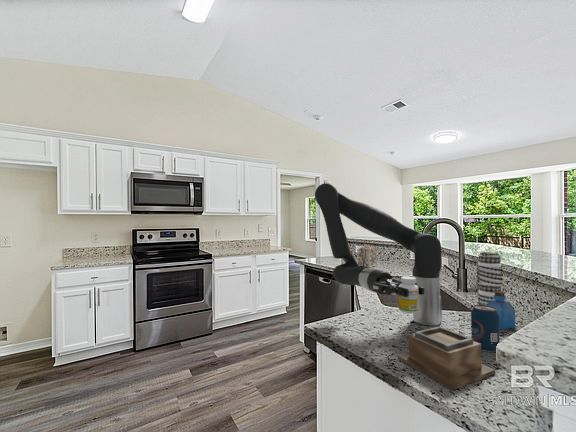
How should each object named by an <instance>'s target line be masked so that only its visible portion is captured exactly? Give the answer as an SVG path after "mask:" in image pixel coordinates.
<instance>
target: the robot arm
mask: <svg viewBox="0 0 576 432" xmlns="http://www.w3.org/2000/svg"><path fill="white" fill-rule="evenodd" d="M314 199H315V201H316V203H317V204H318V206H319V208H320V211H321V212H322V215H323V219H324V223H325V226H326V227H325V228H326V233H327V237H328V241H329V242H328V243H329V245H330V249H331V253H332V256H333V258H335V259H337V260H340V259H342V260H343V261H344V263H342V264H341V263H340V264H338V265H335V267H334V268H333V271H332V275H333V278H334V280H335V282H338V283H339V284H341V285H346V286H348V285H349V286H357V287H361V288H363V289H366V290H367V291H371V292H373V293H376V294H379V295H382V296H384V295H385V296H386V295H388V296H391V295H395V296H396V295H398V296H399V295H401V296H404V297H408V296H409V290H408V289H406V288H402V287H399V285H400V284H402V282H401V279H398V278H396V277H394V278H393V276H392V274H390V272H388V271H385V270H381V269H375V268H372V267H370V268H368V267H360V266H358V261H357V260H356V258H355V257H354V255H353V253H352V251H351V248H350V244H349V241H348V238H347V237H348V236H347V234H346V230H345V229H344V228H345V227H344V224H343V222H342V218H341V215H343V216H344V217H345V218H347V219H348V220H350V221H351V222H353V223H355V224H356V225H358V226H360V227H361V228H363V229H365V230H366V231H369V232H371V233H373V234H375V235H378V237H379V236H380V237H382V238H385V239H387V240H390V241H393V242H395V243H397V244H399V245H400V246H402V247H404V248H406V249H407V250H409V251H410V252H412V253H413V254H414V263H413V267H412V271H411V272H412V277H414V278H416V283H415V285H416V286H417V287H418V302H419V311H418V312H417V313H412V320H413V322H415V323H417V324H419V325H424V326H430V327H431V326H433V327H436V326H439V325H441V323H442V322H443V315H442V314H443V311H442V310H443V309H442V307H443V306H442V303H443V301H442V296H441V292H440V291H441V289H440V288H441V287H440V285H441V284H440V283H441V282H440V274H441V273H440V272H441V270H442V244H441V241H440V239H439V238H438V237H436V236H435V235H433V234H431V233H424V232H421V231H418V230H415V229H412V228H410V227H409V226H406V225H404V224H403V223H401V222H400V221H399V220H397V219H396V218H394V217H393V216H392V215H390V214H388V213H386V212H385V211H383V210H381V209H379V208H376V207H374V206H373V205H369V204H367V203H364V202H360V201H357V200H354V199H351V198H349V197H347V196H346V195H344V194H342V193H341V192H339V191H338V190H337V188H336V187H335V186H334V185H333V184H331V183H327V182H324V183H321V184H320V185H318V187H317V188H316V189H315V192H314Z"/></svg>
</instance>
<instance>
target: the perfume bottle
mask: <svg viewBox="0 0 576 432" xmlns="http://www.w3.org/2000/svg"><path fill="white" fill-rule="evenodd" d="M494 292H495V294H494V298H495V300H491V301H490V302H489V303H488V304H487V306H491V307H494V308H496V311H497V313H498V315H499V329H501V330H508V329H513V328H516V309H515V308H514V307H513V305H512V303H510V301H506V299H507V297H506V292H505V291H502V290H501V291H494Z"/></svg>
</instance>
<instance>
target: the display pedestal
mask: <svg viewBox="0 0 576 432" xmlns="http://www.w3.org/2000/svg"><path fill="white" fill-rule="evenodd" d="M407 336H408V352H406V353H402V354H398V355H397V360H399V361H400V362H402V363H404V364H406V365H407V366H409V367H411V368H412V369H414V370H416V371H418V372H419V373H421V374H423V375H425V376H426V377H428V378H430V379H432V380H433V381H435V382H437V383H438V384H440V385H443V386H444V387H446V388H447V389H449V390H451V391H454V390H456V389H460V388H462V387H465V386H467V385H469V384H473V383H475V382H478V381H479V380H483V379H485V378H488V377H491V376H493V374H494V375H495V374H496V370H495V369H494V368H491V367H489V366H487V365H485V364H483V363H482V360H483V359H482V350H481V344H480V343H478V342H475V341H473V339H472V338H471V337H470V336H466V335H463V334H461V333H459V332H455V331H453V330H450V329H448V328H445V327H442V326H439V325H438V326H434V327H431V328H427V329H426V328H425V329H424V330H417V331H415V332H414V333H411V334H408V335H407Z"/></svg>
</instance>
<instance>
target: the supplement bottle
mask: <svg viewBox="0 0 576 432" xmlns="http://www.w3.org/2000/svg"><path fill="white" fill-rule="evenodd" d="M400 280H401V282H402V284H400V285H399V287H402V288H406V289H408V290H409V296H408V297H404V296H401V295H398V310H399V311H400V312H402V313H405V314H413V313H417V312H418V311H419V302H418V287H417V286H416V285H415V283H416V278H414V277H413V276H405V275H404V276H401V277H400Z"/></svg>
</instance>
